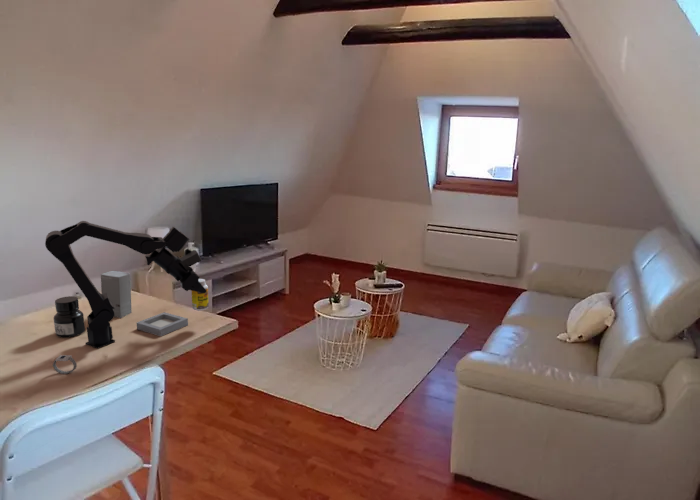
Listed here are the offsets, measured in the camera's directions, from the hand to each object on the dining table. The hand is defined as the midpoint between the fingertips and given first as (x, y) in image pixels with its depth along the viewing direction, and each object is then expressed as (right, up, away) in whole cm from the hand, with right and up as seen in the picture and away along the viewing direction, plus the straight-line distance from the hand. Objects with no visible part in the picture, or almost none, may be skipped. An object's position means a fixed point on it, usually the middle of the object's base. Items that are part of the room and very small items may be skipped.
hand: (203, 289), depth 184 cm
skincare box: (-35, -10, +13) cm, 39 cm away
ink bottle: (-44, -15, -4) cm, 46 cm away
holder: (-15, -13, +2) cm, 20 cm away
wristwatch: (-31, -22, -32) cm, 49 cm away
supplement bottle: (-1, -7, +1) cm, 7 cm away
